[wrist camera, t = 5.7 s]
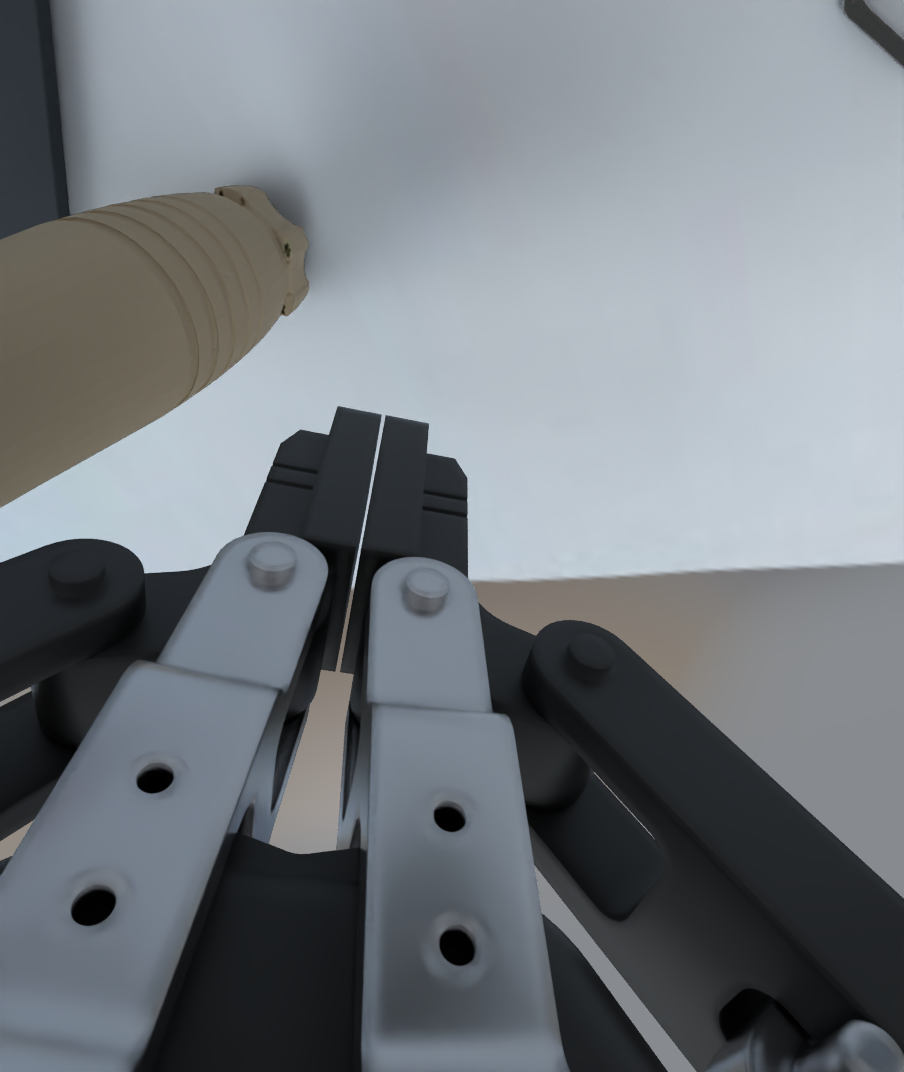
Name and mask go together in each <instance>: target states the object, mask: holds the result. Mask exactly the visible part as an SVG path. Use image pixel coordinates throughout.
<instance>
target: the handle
mask: <svg viewBox="0 0 904 1072" xmlns="http://www.w3.org/2000/svg"><path fill="white" fill-rule="evenodd" d="M308 248H309V242H308V239H307V236H306V234H305V232H304V230H303V228H302V227H301V226H297V225H294V224H293V223H291V222H289V221H288V220H287V219H286V218H284V217H283V216H282V215H281V214H280V213H279V212H278V211H277V210H276V209H275V208H274V207H273V205H272V204H271V203H270V201H269V198H268V196H267V195H266V193H265V192H264V191H262V190H261V189H259V188H256V187H253V186H241V185H233V186H226V187H219V188H215V193H214V194H211V193H205V192H202V193H180V194H170V195H162V196H154V197H150V198H143V199H138V200H133V201H130V202H122V203H117V204H112V205H108V206H105V207H100V208H97V209H93V210H89V211H86V212H82V213H78V214H75V215H71V216H67V217H64V218H60V219H57V220H54V221H50V222H46V223H43V224H40V225H37V226H34V227H32V228H29V229H26V230H24V231H21V232H19V233H16V234H14V235H11V236H8V237H6V238H3V239H1V240H0V508H1V507H3V506H4V505H6V504H8V503H10V502H11V501H13V500H15V499H17V498H18V497H20V496H22V495H23V494H25V493H27V492H29V491H30V490H32V489H34V488H36V487H37V486H39V485H41V484H43V483H45V482H46V481H48V480H50V479H52V478H53V477H55V476H57V475H59V474H61V473H62V472H64V471H66V470H68V469H70V468H71V467H73V466H75V465H77V464H78V463H80V462H82V461H84V460H86V459H87V458H89V457H91V456H93V455H95V454H96V453H98V452H100V451H102V450H103V449H105V448H107V447H109V446H111V445H112V444H114V443H116V442H118V441H120V440H121V439H123V438H125V437H127V436H128V435H130V434H132V433H134V432H136V431H137V430H139V429H141V428H143V427H145V426H146V425H148V424H150V423H152V422H153V421H155V420H157V419H159V418H161V417H162V416H164V415H166V414H167V413H169V412H170V411H172V410H173V409H174V408H176V407H178V406H179V405H181V404H182V403H184V402H185V401H186V400H188V399H189V398H191V397H192V396H193V395H195V394H197V393H198V392H200V391H201V390H203V389H204V388H205V387H207V386H208V385H210V384H211V383H212V382H213V381H215V380H216V379H218V378H219V377H220V376H221V375H223V374H224V373H225V372H226V371H227V370H228V369H229V368H231V367H232V366H234V365H235V364H236V363H237V362H238V361H239V360H241V359H242V358H243V357H244V356H245V355H246V354H247V353H248V352H249V351H250V350H251V349H252V348H253V347H254V346H255V345H256V344H258V343H259V341H260V340H261V339H262V338H263V337H264V336H265V335H266V334H267V333H268V331H269V330H270V329H271V328H272V326H273V325H274V324H275V322H276V321H277V320H278V318H279V317H280V315H284V316H288V315H290V314H291V313H292V312H293V311H294V310H295V309H296V308H297V307H298V306H299V305H300V303H301V302H302V301H303V300H304V298H305V296H306V295H307V293H308V290H309V281H308V280H307V278H306V274H305V268H304V257H305V253H306V250H307V249H308Z"/></svg>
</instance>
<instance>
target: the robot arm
mask: <svg viewBox="0 0 904 1072" xmlns="http://www.w3.org/2000/svg"><path fill="white" fill-rule="evenodd" d="M381 416H382V415H381V414H376V413H371V412H365V411H360V410H355V409H350V408H345V407H340V406H338V407H337V410H336V414H335V417H334V420H333V424H332V427H331V430H330V433H329V435H326V434H321V433H315V432H310V431H305V430H299V431H298V432H296V433H295V434H294V435H292V436H291V437H289V438H288V439H286V440H285V441H284V442H282V443H281V444H280V447H279V449H278V451H277V454H276V456H275V459H274V461H273V466H271V469H270V471H269V474H268V476H267V481H266V482H265V484H264V486H263V489H262V491H261V494H260V496H259V499H258V501H257V504H256V506H255V509H254V511H253V514H252V516H251V519H250V521H249V524H248V526H247V529H246V531H245V534H244V536H241V537H239V538H237V539H234V540H233V541H231V542H229V543H228V544H226V545H225V546H224V547H223V548H222V549H221V550H220V552H219V553H218V554H217V556H216V558H215V560H214V561H213V563H212V565H209V566H206V567H203V568H199V569H194V570H188V571H179V572H162V573H145V574H144V569H143V565H142V563H141V561H140V560H139V558H138V557H137V556H136V555H135V554H134V553H133V552H131V551H130V550H129V549H127V548H125V547H123V546H121V545H119V544H116V543H113V542H109V541H104V540H98V539H73V540H65V541H61V542H56V543H53V544H50V545H46V546H44V547H41V548H38V549H36V550H33V551H30V552H28V553H25V554H22V555H20V556H17V557H14V558H12V559H9V560H7V561H4V562H1V563H0V702H1V701H3V700H5V699H7V698H9V697H11V696H13V695H14V694H17V693H19V692H20V691H23V690H24V689H27V688H28V687H31V691H30V692H29V693H27V694H25V695H23V696H21V697H19V698H17V699H15V700H13V701H11V702H9V703H7V704H5V705H3V706H1V707H0V841H1V840H3V839H4V838H6V837H7V836H9V835H11V834H12V833H14V832H15V831H17V830H18V829H20V828H22V827H23V826H25V825H27V824H28V823H30V822H31V821H33V820H34V819H35V820H34V822H33V823H32V825H31V826H30V828H29V830H28V831H27V833H26V835H25V836H24V838H23V840H22V841H21V843H20V845H19V846H18V848H17V849H16V851H15V853H14V855H13V856H11V857H9V858H6V859H4V860H1V861H0V1072H668V1071H667V1070H666V1069H665V1067H664V1066H663V1064H662V1063H661V1062H660V1060H659V1059H658V1058H657V1056H656V1055H655V1053H654V1052H653V1051H652V1049H651V1048H650V1046H649V1045H648V1044H647V1042H646V1041H645V1040H644V1038H643V1037H642V1035H641V1034H640V1033H639V1031H638V1030H637V1028H636V1027H635V1026H634V1024H633V1023H632V1022H631V1020H630V1019H629V1017H628V1016H627V1015H626V1014H625V1012H624V1011H623V1009H622V1008H621V1006H620V1005H619V1004H618V1002H617V1001H616V1000H615V998H614V997H613V995H612V994H611V992H610V991H609V990H608V988H607V987H606V986H605V984H604V983H603V981H602V980H601V979H600V977H599V976H598V975H597V973H596V972H595V970H594V969H593V968H592V966H591V965H590V963H589V962H588V961H587V960H586V958H585V957H584V956H583V954H582V953H581V952H580V951H579V949H578V948H577V947H576V946H575V945H574V944H573V943H572V942H571V940H570V939H569V938H568V937H567V936H566V935H565V934H564V933H563V932H562V931H561V930H560V929H559V928H558V927H557V926H556V925H555V924H553V923H552V922H551V921H550V920H549V919H548V918H547V917H545V915H543V914H542V912H541V906H540V899H539V892H538V887H537V879H536V873H535V867H534V865H535V866H536V867H537V869H538V870H539V871H540V872H541V874H542V875H543V876H544V878H545V879H546V880H547V881H548V883H549V884H550V885H551V886H552V888H553V889H554V890H555V892H556V893H557V894H558V895H559V897H560V898H561V899H562V901H563V902H564V903H565V904H566V905H567V907H568V908H569V909H570V911H571V912H572V913H573V915H574V916H575V917H576V918H577V920H578V921H579V922H580V923H581V925H582V926H583V927H584V928H585V930H586V931H587V932H588V934H589V935H590V936H591V937H592V939H593V940H594V941H595V942H596V944H597V945H598V946H599V948H600V949H601V950H602V951H603V953H604V954H605V955H606V957H607V958H608V959H609V960H610V962H611V963H612V964H613V966H614V967H615V968H616V969H617V971H618V972H619V973H620V974H621V976H622V977H623V978H624V979H625V981H626V982H627V983H628V985H629V986H630V987H631V988H632V990H633V991H634V992H635V994H636V995H637V996H638V997H639V999H640V1000H641V1001H642V1002H643V1004H644V1005H645V1006H646V1008H647V1009H648V1010H649V1011H650V1013H651V1014H652V1015H653V1016H654V1018H655V1019H656V1020H657V1022H658V1023H659V1024H660V1025H661V1027H662V1028H663V1029H664V1030H665V1032H666V1033H667V1034H668V1036H669V1037H670V1038H671V1039H672V1041H673V1042H674V1043H675V1044H676V1046H677V1047H678V1048H679V1050H680V1051H681V1052H682V1053H683V1055H684V1056H685V1057H686V1059H687V1060H688V1061H689V1062H690V1064H691V1065H692V1066H693V1067H694V1069H695V1070H696V1071H697V1072H904V899H903V898H902V897H901V896H900V895H899V894H898V893H897V892H896V891H895V890H894V889H893V888H891V887H890V886H889V885H888V884H887V883H886V882H885V881H884V880H883V879H882V878H881V877H879V876H878V875H877V874H876V873H875V872H874V871H873V870H872V869H871V868H870V867H869V866H867V865H866V864H865V863H864V862H863V861H862V860H861V859H860V858H859V857H858V856H857V855H855V854H854V853H853V852H852V851H851V850H850V849H849V848H848V847H847V846H845V844H843V843H842V842H841V841H840V840H839V839H838V838H837V837H836V836H835V835H834V834H833V833H831V832H830V831H829V830H828V829H827V828H826V827H825V826H824V825H823V824H822V823H821V822H819V821H818V820H817V819H816V818H815V817H814V816H813V815H812V814H811V813H810V812H808V811H807V810H806V809H805V808H804V807H803V806H802V805H801V804H800V803H799V802H798V801H797V800H795V799H794V798H793V797H792V796H791V795H790V794H789V793H788V792H787V791H785V790H784V789H783V788H782V787H781V786H780V785H779V784H778V783H777V782H776V781H775V780H774V779H773V778H771V777H770V776H769V775H768V774H767V773H766V772H765V771H764V770H763V769H762V768H760V767H759V766H758V765H757V764H756V763H755V762H754V761H753V760H752V759H751V758H750V757H748V756H747V755H746V754H745V753H744V752H743V751H742V750H741V749H740V748H739V747H737V745H735V744H734V743H733V742H732V741H731V740H730V739H729V738H728V737H727V736H726V735H725V734H723V733H722V732H721V731H720V730H719V729H718V728H717V727H716V726H715V725H714V724H713V723H711V722H710V721H709V720H708V719H707V718H706V717H705V716H704V715H703V714H702V713H700V712H699V711H698V710H697V709H696V708H695V707H694V706H693V705H692V704H691V703H690V702H689V701H687V700H686V699H685V698H684V697H683V696H682V695H681V694H680V693H679V692H678V691H677V690H675V689H674V688H673V687H672V686H671V685H670V684H669V683H668V682H667V681H666V680H665V679H663V678H662V677H661V676H660V675H659V674H658V673H657V672H656V671H655V670H654V669H652V668H651V667H650V666H649V665H648V664H647V663H646V662H645V661H644V660H643V659H642V658H641V657H639V656H638V655H637V654H636V653H635V652H634V651H633V650H632V649H631V648H630V647H629V646H627V645H626V644H625V643H624V642H623V641H622V640H620V639H619V638H618V637H617V636H615V635H614V634H612V633H611V632H609V631H607V630H605V629H603V628H601V627H599V626H596V625H594V624H591V623H587V622H583V621H575V620H563V621H557V622H554V623H551V624H549V625H547V626H545V627H544V628H543V629H542V630H541V631H539V633H538V634H537V636H535V635H532V634H530V633H528V632H526V631H523V630H521V629H518V628H516V627H514V626H511V625H509V624H507V623H505V622H503V621H501V620H500V619H498V618H496V617H495V616H493V615H492V614H491V613H489V612H488V611H487V610H486V609H484V607H482V605H481V604H480V603H479V602H478V597H477V593H476V590H475V588H474V587H473V585H472V583H471V582H470V581H469V579H468V518H467V514H468V510H467V477H466V475H465V474H464V472H463V471H462V469H461V468H460V466H459V464H458V463H457V461H456V460H455V459H454V458H449V457H443V456H438V455H433V454H427V441H428V429H429V424H428V423H423V422H418V421H413V420H408V419H402V418H397V417H392V416H387V415H386V417H385V422H384V428H383V433H382V439H381V444H380V450H379V455H378V460H377V466H376V471H375V477H374V482H373V488H372V493H371V499H370V504H369V510H368V515H367V520H366V526H365V531H364V537H363V542H362V548H361V554H360V559H359V565H358V571H357V577H356V583H355V588H354V594H353V600H352V606H351V612H350V618H349V624H348V629H347V635H346V641H345V647H344V653H343V658H342V664H341V670H340V672H343V673H350V674H354V676H353V682H352V689H351V695H350V701H349V706H348V711H347V717H346V722H345V736H344V737H345V738H344V750H343V765H342V766H343V767H342V780H341V794H340V810H339V824H338V837H337V847H336V850H335V851H327V852H320V853H311V854H295V853H291V852H287V851H285V850H282V849H280V848H277V847H275V846H272V845H270V844H269V841H270V837H271V833H272V830H273V826H274V823H275V820H276V816H277V813H278V810H279V807H280V804H281V801H282V797H283V794H284V791H285V788H286V785H287V781H288V778H289V775H290V772H291V769H292V765H293V762H294V759H295V756H296V752H297V749H298V746H299V743H300V739H301V737H302V733H303V730H304V727H305V724H306V721H307V717H308V712H309V705H310V703H311V702H312V700H313V698H314V696H315V693H316V690H317V685H318V681H319V676H320V671H321V669H322V670H328V671H335V670H336V665H337V660H338V654H339V649H340V644H341V639H342V633H343V628H344V623H345V617H346V612H347V607H348V602H349V596H350V591H351V586H352V580H353V575H354V570H355V564H356V559H357V554H358V549H359V543H360V538H361V533H362V527H363V522H364V516H365V511H366V505H367V499H368V493H369V488H370V482H371V476H372V470H373V464H374V458H375V452H376V446H377V440H378V434H379V428H380V422H381ZM594 772H595V773H596V774H597V775H598V776H599V777H600V778H601V779H602V781H603V782H604V783H605V784H606V785H607V786H608V787H609V788H610V789H611V790H612V792H613V793H614V794H615V795H616V796H617V797H618V798H619V799H620V800H621V801H622V802H623V803H624V805H625V806H626V807H627V808H628V809H629V810H630V811H631V812H632V813H633V814H634V815H635V816H636V818H637V819H638V820H639V821H640V822H641V823H642V824H643V825H644V826H645V827H646V828H647V830H648V831H649V832H650V833H651V834H652V836H653V837H654V839H653V837H652V836H651V835H650V834H649V833H648V832H647V831H646V829H645V828H644V827H643V826H642V825H641V824H640V823H639V822H638V821H637V820H636V819H635V818H634V816H633V815H632V814H631V813H630V812H629V811H628V810H627V809H626V808H625V807H624V806H623V804H622V803H621V802H620V801H619V800H618V799H617V798H616V797H615V796H614V795H613V794H612V792H611V791H610V790H609V789H608V788H607V787H606V786H605V785H604V784H603V783H602V782H601V780H600V779H599V778H598V777H597V776H596V775H595V774H594Z"/></svg>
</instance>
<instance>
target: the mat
mask: <svg viewBox="0 0 904 1072" xmlns="http://www.w3.org/2000/svg"><path fill="white" fill-rule="evenodd" d="M67 216H69V208H68V198H67V187H66V177H65V166H64V156H63V146H62V135H61V125H60V114H59V104H58V94H57V83H56V73H55V62H54V52H53V42H52V31H51V21H50V10H49V0H0V240H1V239H3V238H6V237H8V236H11V235H14V234H16V233H19V232H21V231H24V230H26V229H29V228H32V227H34V226H37V225H40V224H43V223H46V222H50V221H54V220H57V219H60V218H64V217H67Z"/></svg>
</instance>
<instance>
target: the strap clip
mask: <svg viewBox="0 0 904 1072" xmlns="http://www.w3.org/2000/svg"><path fill="white" fill-rule="evenodd" d="M842 10H843V12H844V14H845V16H846V18H848V19H849V20H850V21H851V22H852V23H853V24H854V25H855V26H857V27H858V28H859V29H860V30H861V31H862V32H863V33H864V34H865V35H867V36H868V37H869V38H870V39H871V40H872V41H873V42H874V43H875V44H877V45H878V46H879V47H880V48H881V49H882V50H883V51H884V52H886V53H887V54H888V55H889V56H890V57H891V58H892V59H893V60H894V61H896V62H897V63H898V64H899V65H900V66H901V67H902V68H903V69H904V40H903V39H902V38H901V37H900V36H899V35H897V34H896V33H895V32H894V31H893V30H892V29H891V28H890V27H889V26H888V25H887V24H885V23H884V22H883V21H882V20H881V19H880V18H879V17H878V16H877V15H876V14H874V13H873V12H872V11H871V10H870V9H869V7H868V6H867V5H866V4H865V3H864V1H863V0H842Z"/></svg>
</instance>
